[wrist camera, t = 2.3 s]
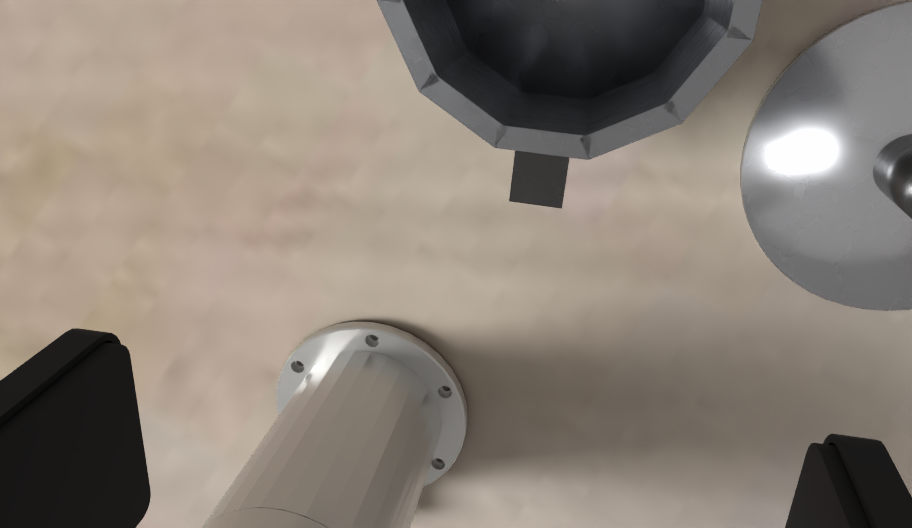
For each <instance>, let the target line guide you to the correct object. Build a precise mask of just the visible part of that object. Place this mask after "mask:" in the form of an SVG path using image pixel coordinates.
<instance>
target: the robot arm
mask: <svg viewBox="0 0 912 528" xmlns="http://www.w3.org/2000/svg"><path fill="white" fill-rule="evenodd" d="M373 335H375V336H377V337H375V336H373ZM445 386H447V387H445ZM276 408H277V413H278V417H277V419H276V420H275V422H274V423H273V425H272V426H271V428H270V429H269V430H268V432H267V433H266V435H265V436H264V438H263V439H262V441H261V442H260V444H259V445H258V447H257V448H256V449H255V451H254V452H253V454H252V455H251V457H250V458H249V460H248V461H247V463H246V464H245V465H244V467H243V468H242V470H241V471H240V473H239V474H238V476H237V477H236V479H235V480H234V481H233V483H232V484H231V486H230V487H229V489H228V490H227V492H226V493H225V495H224V496H223V498H222V499H221V500H220V502H219V503H218V505H217V506H216V508H215V509H214V511H213V512H212V514H211V515H210V517H209V518H208V519H207V521H206V522H205V524H204V525H203V527H202V528H410V526H411V523H412V520H413V517H414V514H415V511H416V508H417V505H418V502H419V499H420V496H421V493H422V490H423V487H425V486H427V485H429V484H431V483H433V482H435V481H436V480H437V479H438V478H440V477H441V476H442V475H443V474H445V473H446V472H447V471H448V469H449V468H450V467H451V466H452V465H453V463H454V462H455V461H456V459H457V457H458V455H459V453H460V451H461V449H462V446H463V442H464V439H465V435H466V431H467V422H468V413H467V404H466V399H465V396H464V393H463V390H462V387H461V384H460V383H459V381H458V379H457V377H456V376H455V374H454V372H453V370H452V369H451V368H450V366H449V365H448V364H447V363H446V362H445V360H444V359H443V358H442V357H441V356H440V355H439V354H438V353H437V352H436V351H435V350H433V349H432V348H431V347H430V346H429V345H427V344H426V343H425V342H423V341H422V340H420V339H418V338H416V337H415V336H413V335H411V334H410V333H408V332H405V331H402V330H400V329H397V328H395V327H392V326H388V325H384V324H379V323H374V322H347V323H341V324H335V325H332V326H330V327H327V328H324V329H321V330H319V331H317V332H316V333H314V334H313V335H311V336H309V337H308V338H306V339H305V340H304V341H303V342H302V343H301V344H300V345H299V346H298V347H297V348H296V349H295V350H294V351H293V353H292V354H291V355H290V357H289V358H288V359H287V361H286V362H285V365H284V367H283V369H282V371H281V373H280V375H279V379H278V383H277V388H276ZM149 503H150V485H149V478H148V472H147V465H146V458H145V452H144V445H143V438H142V432H141V425H140V418H139V412H138V405H137V398H136V392H135V385H134V378H133V372H132V365H131V358H130V353H129V350H128V349H127V347H126V346H124V345H121V343H120V340H119V339H118V337H117V336H116V335H114V334H112V333H107V332H100V331H92V330H85V329H71V330H69V331H67V332H65V333H64V334H63V335H61V336H60V337H59V338H57V339H56V340H55V341H53V342H52V343H51V344H49V345H48V346H47V347H45V348H44V349H43V350H41V351H40V352H38V353H37V354H36V355H34V356H33V357H32V358H30V359H29V360H28V361H26V362H25V363H24V364H22V365H21V366H20V367H18V368H17V369H16V370H14V371H13V372H12V373H10V374H9V375H8V376H6V377H5V378H3V379H2V380H1V381H0V528H136V526H137V525H138V524H139V523H140V521H141V520H142V519H143V517H144V515H145V514H146V511H147V509H148V506H149ZM785 528H912V497H911V495H910V493H909V491H908V489H907V488H906V486H905V484H904V482H903V480H902V478H901V476H900V474H899V472H898V470H897V469H896V467H895V465H894V463H893V461H892V459H891V457H890V455H889V453H888V452H887V450H886V448H885V446H884V445H883V444H882V442H881V441H878V440H873V439H866V438H859V437H852V436H845V435H838V434H830V435H828V436H827V438H826V439H825V441H824V443H823V444H819V443H812V444H811V445H810V446H809V448H808V450H807V453H806V456H805V460H804V463H803V467H802V470H801V474H800V477H799V481H798V484H797V488H796V491H795V495H794V498H793V502H792V505H791V509H790V512H789V516H788V520H787V523H786V527H785Z"/></svg>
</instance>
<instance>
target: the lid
mask: <svg viewBox="0 0 912 528" xmlns="http://www.w3.org/2000/svg"><path fill="white" fill-rule="evenodd" d="M740 188H741V195H742V203H743V207H744V210H745V214H746V217H747V221H748V223H749V225H750V227H751V230H752V232H753V234H754V236H755V238H756V240H757V242H758V243H759V245H760V247H761V248H762V250H763V251H764V253H765V254H766V256H767V257H768V258H769V259H770V260H771V261H772V262H773V264H774V265H775V266H776V267H777V268H778V269H779V270H780V271H781V272H782V273H783V274H785V275H786V276H787V277H788V278H789V279H791V280H792V281H793V282H795V283H796V284H798V285H799V286H801V287H803V288H804V289H806V290H807V291H809V292H811V293H813V294H815V295H818V296H820V297H822V298H824V299H826V300H830V301H833V302H836V303H839V304H842V305H846V306H851V307H857V308H862V309H871V310H885V311H887V310H909V309H912V0H911V1H905V2H901V3H897V4H893V5H888V6H884V7H881V8H879V9H876V10H873V11H870V12H868V13H865V14H862V15H860V16H858V17H856V18H854V19H852V20H850V21H848V22H846V23H844V24H841V25H839V26H838V27H836V28H835V29H833V30H832V31H830V32H828V33H827V34H825V35H824V36H822V37H821V38H819V39H818V40H816V41H815V42H814V43H813V44H811V45H810V46H809V47H808V48H807V49H805V50H804V51H803V52H802V53H800V54H799V55H798V56H797V57H796V58H795V59H794V60H793V61H792V62H791V63H790V64H789V65H788V66H787V67H786V68H785V69H784V71H783V72H782V73H781V74H780V76H779V77H778V78H777V79H776V81H775V82H774V83H773V85H772V86H771V87H770V88H769V90H768V92H767V93H766V95H765V97H764V98H763V100H762V102H761V103H760V105H759V107H758V108H757V111H756V113H755V115H754V117H753V120H752V122H751V124H750V127H749V129H748V133H747V136H746V140H745V143H744V147H743V153H742V159H741V166H740Z"/></svg>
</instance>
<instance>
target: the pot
mask: <svg viewBox="0 0 912 528" xmlns="http://www.w3.org/2000/svg"><path fill="white" fill-rule="evenodd" d="M377 2H378V4H379V7H380V9H381V11H382V13H383V15H384V17H385V19H386V22H387V24H388V26H389V28H390V30H391V32H392V35H393V37H394V39H395V41H396V43H397V45H398V48H399V50H400V52H401V54H402V56H403V58H404V60H405V63H406V65H407V67H408V69H409V71H410V73H411V76H412V78H413V80H414V82H415V84H416V86H417V88H418V91H419V92H420V93H422V94H423V95H424V96H426V97H427V98H429V99H430V100H431V101H433V102H434V103H435V104H437V105H438V106H439V107H441V108H442V109H443V110H445V111H446V112H447V113H449V114H450V115H451V116H453V117H454V118H455V119H457V120H458V121H459V122H461V123H462V124H463V125H465V126H466V127H467V128H469V129H470V130H472V131H473V132H474V133H476V134H477V135H478V136H480V137H481V138H482V139H484V140H485V141H486V142H488V143H489V144H490V145H492V146H493V147H494V148H501V149H508V150H515V157H514V166H513V174H512V182H511V191H510V199H509V201H512V202H519V203H526V204H533V205H541V206H548V207H555V208H562V203H563V197H564V190H565V183H566V177H567V170H568V163H569V157H570V158H578V159H586V160H588V159H592V158H594V157H597V156H599V155H602V154H605V153H607V152H610V151H612V150H615V149H617V148H620V147H622V146H625V145H627V144H630V143H633V142H635V141H638V140H640V139H643V138H645V137H648V136H650V135H653V134H656V133H658V132H661V131H663V130H666V129H668V128H671V127H673V126H676V125H678V124H681V123H682V122H683V121H684V120H685V119H686V118H687V117H688V115H689V114H690V113H691V112H692V111H693V110H694V108H695V107H696V106H697V105H698V104H699V103H700V101H701V100H702V99H703V98H704V97H705V96H706V95H707V93H708V92H709V91H710V90H711V89H712V88H713V86H714V85H715V84H716V83H717V82H718V81H719V80H720V78H721V77H722V76H723V75H724V74H725V73H726V71H727V70H728V69H729V68H730V67H731V66H732V64H733V63H734V62H735V61H736V60H737V59H738V58H739V56H740V55H741V54H742V53H743V52H744V51H745V49H746V48H747V47H748V46H749V45H750V44H751V42H752V40H753V39H754V35H755V30H756V26H757V22H758V17H759V13H760V9H761V5H762V0H377Z"/></svg>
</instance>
